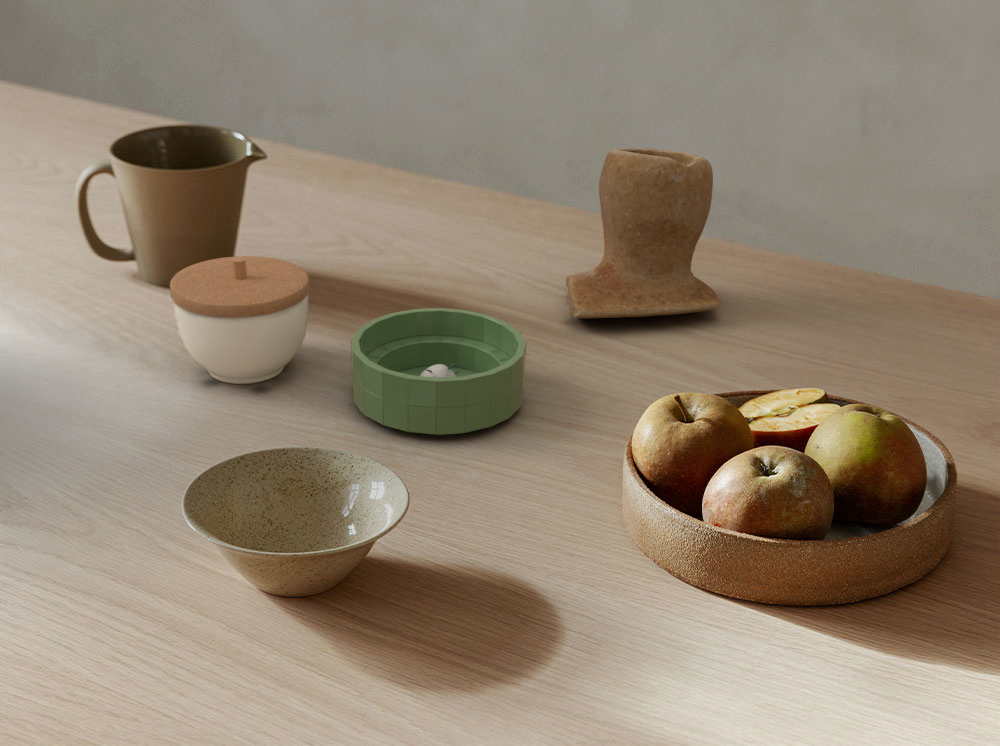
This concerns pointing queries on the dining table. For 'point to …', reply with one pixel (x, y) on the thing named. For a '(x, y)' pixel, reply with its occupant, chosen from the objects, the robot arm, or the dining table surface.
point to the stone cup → (647, 237)
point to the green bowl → (429, 341)
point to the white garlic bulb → (439, 371)
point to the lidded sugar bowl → (241, 315)
